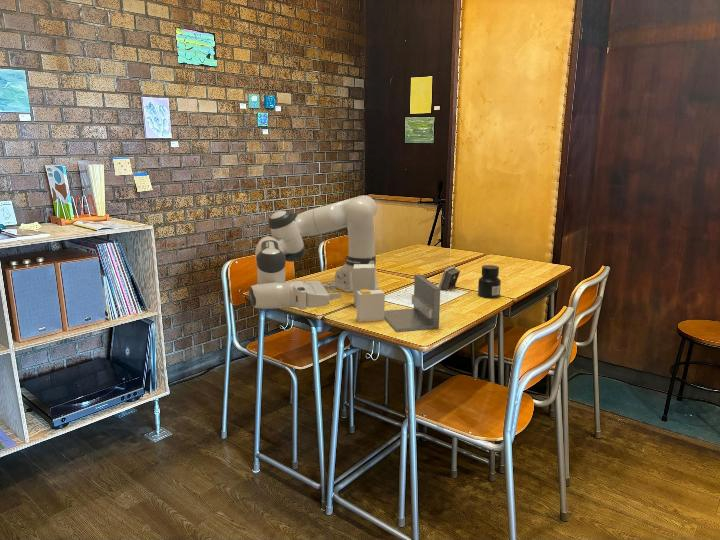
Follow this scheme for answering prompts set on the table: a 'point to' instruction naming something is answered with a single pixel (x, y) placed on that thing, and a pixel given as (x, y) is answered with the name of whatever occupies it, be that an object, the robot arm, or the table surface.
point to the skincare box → (363, 278)
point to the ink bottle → (489, 282)
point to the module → (370, 305)
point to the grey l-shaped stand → (418, 308)
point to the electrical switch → (449, 278)
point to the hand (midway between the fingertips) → (337, 291)
